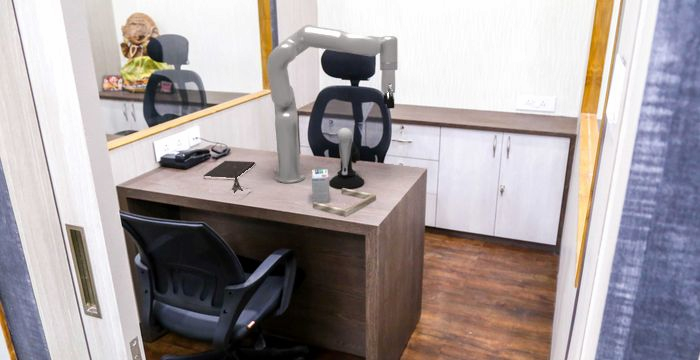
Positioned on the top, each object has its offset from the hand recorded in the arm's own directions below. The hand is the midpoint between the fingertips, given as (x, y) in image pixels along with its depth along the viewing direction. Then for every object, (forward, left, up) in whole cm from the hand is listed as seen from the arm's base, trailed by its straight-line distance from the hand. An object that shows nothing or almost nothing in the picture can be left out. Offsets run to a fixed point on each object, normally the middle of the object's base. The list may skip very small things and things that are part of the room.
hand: (388, 106), depth 227 cm
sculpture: (-10, -17, -31) cm, 37 cm away
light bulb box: (-7, -40, -32) cm, 52 cm away
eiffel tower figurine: (-41, -54, -32) cm, 75 cm away
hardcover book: (-66, -36, -32) cm, 82 cm away
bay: (+5, -40, -31) cm, 51 cm away
